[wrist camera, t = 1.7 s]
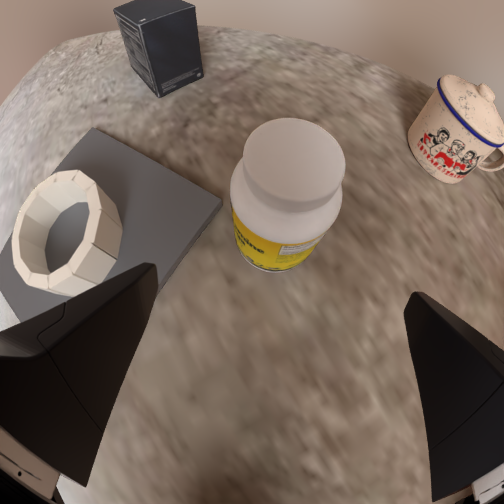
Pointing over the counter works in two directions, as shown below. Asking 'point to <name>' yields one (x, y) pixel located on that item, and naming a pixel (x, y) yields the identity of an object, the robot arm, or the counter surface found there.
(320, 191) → the pill bottle
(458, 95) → the teacup with lid
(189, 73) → the small box
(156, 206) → the socket board
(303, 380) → the counter surface
